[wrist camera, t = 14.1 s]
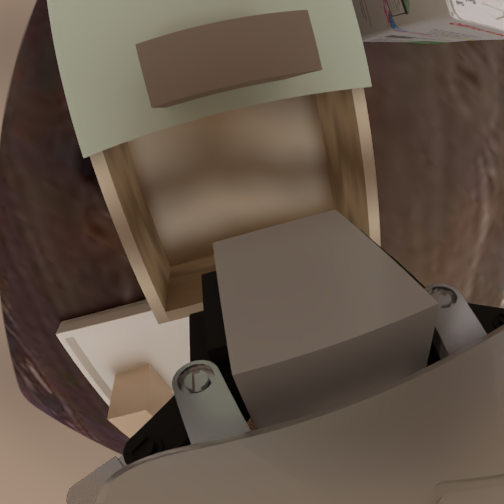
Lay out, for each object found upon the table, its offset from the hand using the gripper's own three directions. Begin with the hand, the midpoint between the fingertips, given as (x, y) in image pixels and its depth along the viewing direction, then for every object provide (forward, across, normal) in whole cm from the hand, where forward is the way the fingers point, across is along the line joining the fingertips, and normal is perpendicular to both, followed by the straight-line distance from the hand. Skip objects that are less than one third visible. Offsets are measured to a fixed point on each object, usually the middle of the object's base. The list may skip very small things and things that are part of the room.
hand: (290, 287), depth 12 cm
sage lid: (+7, 0, -13) cm, 15 cm away
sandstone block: (+14, +15, +17) cm, 26 cm away
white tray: (+14, +12, +14) cm, 23 cm away
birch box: (+14, 0, -1) cm, 14 cm away
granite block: (+1, 0, 0) cm, 1 cm away
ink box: (+15, -16, -12) cm, 25 cm away
